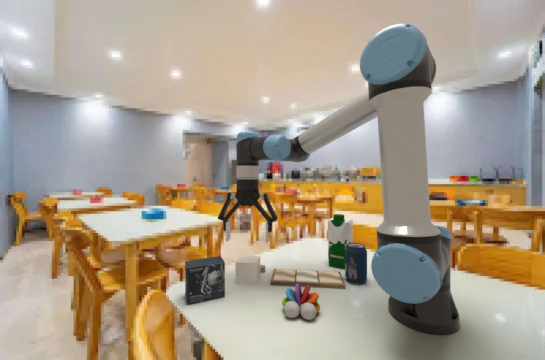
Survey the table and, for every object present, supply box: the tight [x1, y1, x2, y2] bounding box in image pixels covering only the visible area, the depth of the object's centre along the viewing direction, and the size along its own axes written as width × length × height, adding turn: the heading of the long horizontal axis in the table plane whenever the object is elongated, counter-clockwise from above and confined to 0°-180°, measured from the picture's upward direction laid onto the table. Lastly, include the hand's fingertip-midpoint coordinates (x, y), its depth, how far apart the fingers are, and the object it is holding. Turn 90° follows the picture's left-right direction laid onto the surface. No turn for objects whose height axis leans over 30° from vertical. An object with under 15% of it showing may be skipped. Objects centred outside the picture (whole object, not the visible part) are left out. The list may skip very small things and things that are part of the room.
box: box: [184, 255, 226, 306], centre depth 72 cm, size 11×7×10 cm, turn 115°
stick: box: [260, 264, 266, 274], centre depth 90 cm, size 2×9×2 cm, turn 83°
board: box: [269, 268, 346, 290], centre depth 83 cm, size 11×24×1 cm, turn 83°
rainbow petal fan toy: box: [281, 284, 321, 321], centre depth 63 cm, size 8×10×7 cm
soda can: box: [344, 242, 368, 285], centre depth 82 cm, size 7×7×12 cm
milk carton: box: [327, 213, 354, 270], centre depth 96 cm, size 9×9×20 cm
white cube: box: [235, 254, 261, 285], centre depth 83 cm, size 7×7×7 cm
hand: (247, 241), depth 83 cm, fingers open, 13 cm apart
